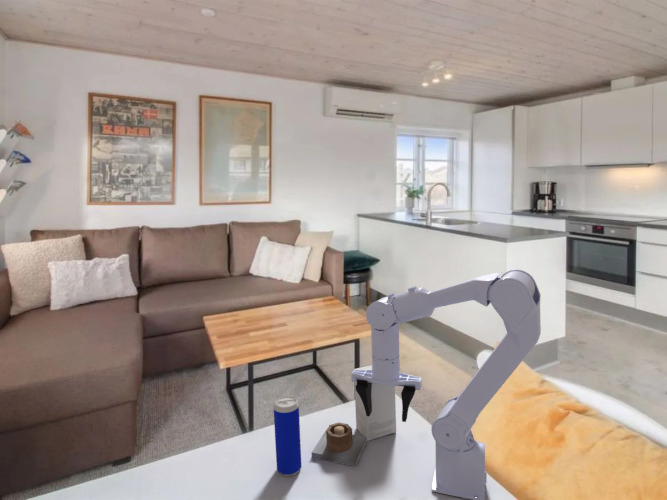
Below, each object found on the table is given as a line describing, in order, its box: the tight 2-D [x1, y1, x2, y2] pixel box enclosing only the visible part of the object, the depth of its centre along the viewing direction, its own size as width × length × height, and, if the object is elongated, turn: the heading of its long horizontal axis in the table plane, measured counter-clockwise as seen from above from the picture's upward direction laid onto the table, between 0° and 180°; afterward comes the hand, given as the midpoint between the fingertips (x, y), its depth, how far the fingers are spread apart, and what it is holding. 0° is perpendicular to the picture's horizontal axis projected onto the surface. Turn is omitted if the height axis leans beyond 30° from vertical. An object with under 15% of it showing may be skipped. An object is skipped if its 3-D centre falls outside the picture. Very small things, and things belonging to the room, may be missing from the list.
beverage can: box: [273, 395, 302, 477], centre depth 84 cm, size 5×5×15 cm
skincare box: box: [353, 364, 397, 442], centre depth 96 cm, size 8×7×16 cm
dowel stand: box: [311, 426, 368, 467], centre depth 90 cm, size 10×9×5 cm
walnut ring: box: [325, 422, 353, 453], centre depth 90 cm, size 5×5×4 cm
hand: (386, 416), depth 85 cm, fingers open, 7 cm apart
